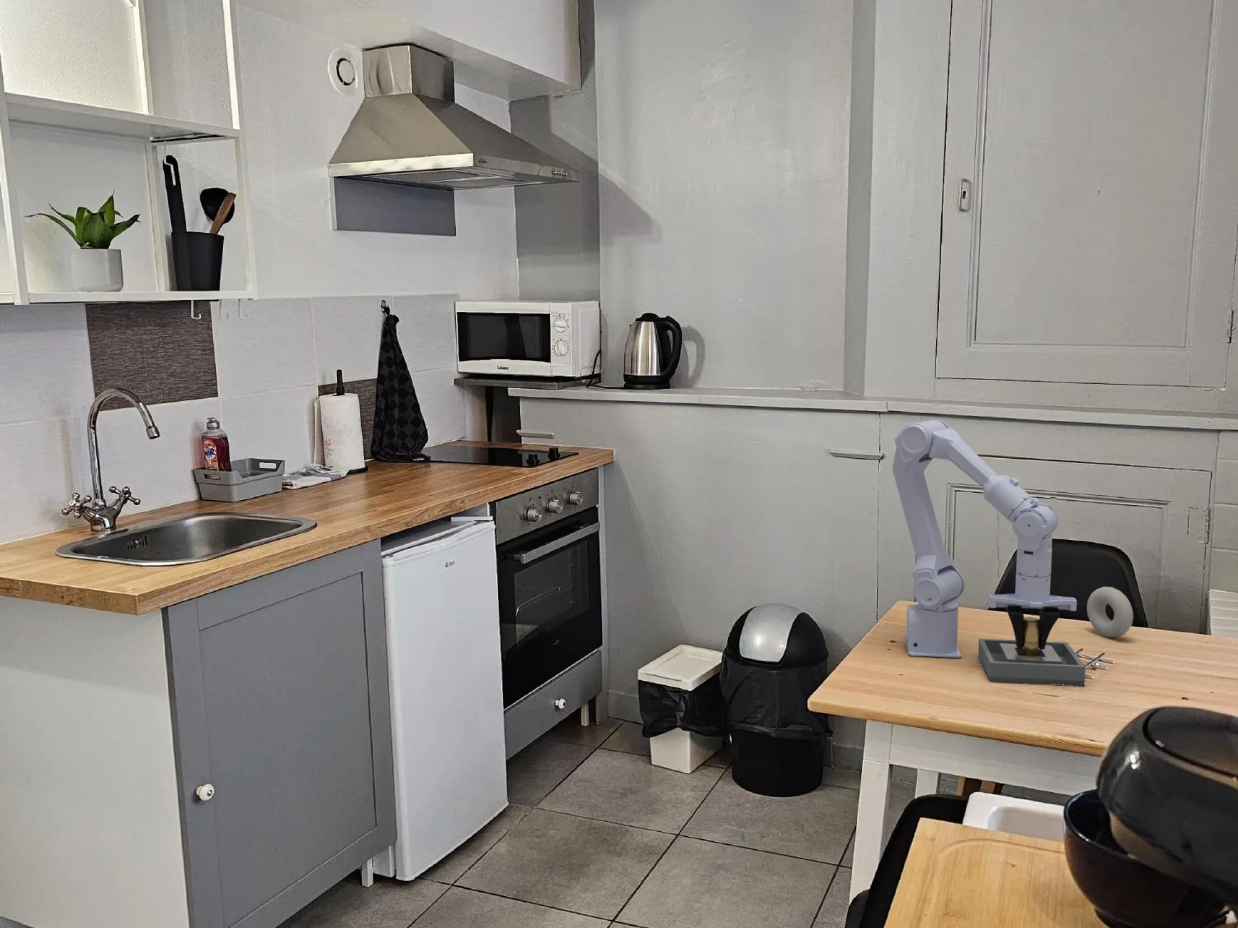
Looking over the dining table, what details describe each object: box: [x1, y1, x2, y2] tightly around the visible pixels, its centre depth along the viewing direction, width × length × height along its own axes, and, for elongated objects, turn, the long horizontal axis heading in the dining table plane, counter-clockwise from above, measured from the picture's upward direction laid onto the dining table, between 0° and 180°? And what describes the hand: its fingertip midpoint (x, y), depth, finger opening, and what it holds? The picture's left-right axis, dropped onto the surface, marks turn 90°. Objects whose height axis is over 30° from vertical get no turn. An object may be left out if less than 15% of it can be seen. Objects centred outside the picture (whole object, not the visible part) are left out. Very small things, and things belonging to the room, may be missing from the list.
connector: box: [1020, 616, 1041, 657], centre depth 189 cm, size 3×3×7 cm
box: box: [977, 638, 1086, 687], centre depth 190 cm, size 16×14×4 cm
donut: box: [1086, 586, 1134, 638], centre depth 208 cm, size 10×4×10 cm, turn 23°
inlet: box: [999, 643, 1062, 664], centre depth 190 cm, size 9×9×2 cm
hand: (1030, 647), depth 189 cm, fingers closed on connector, 3 cm apart
